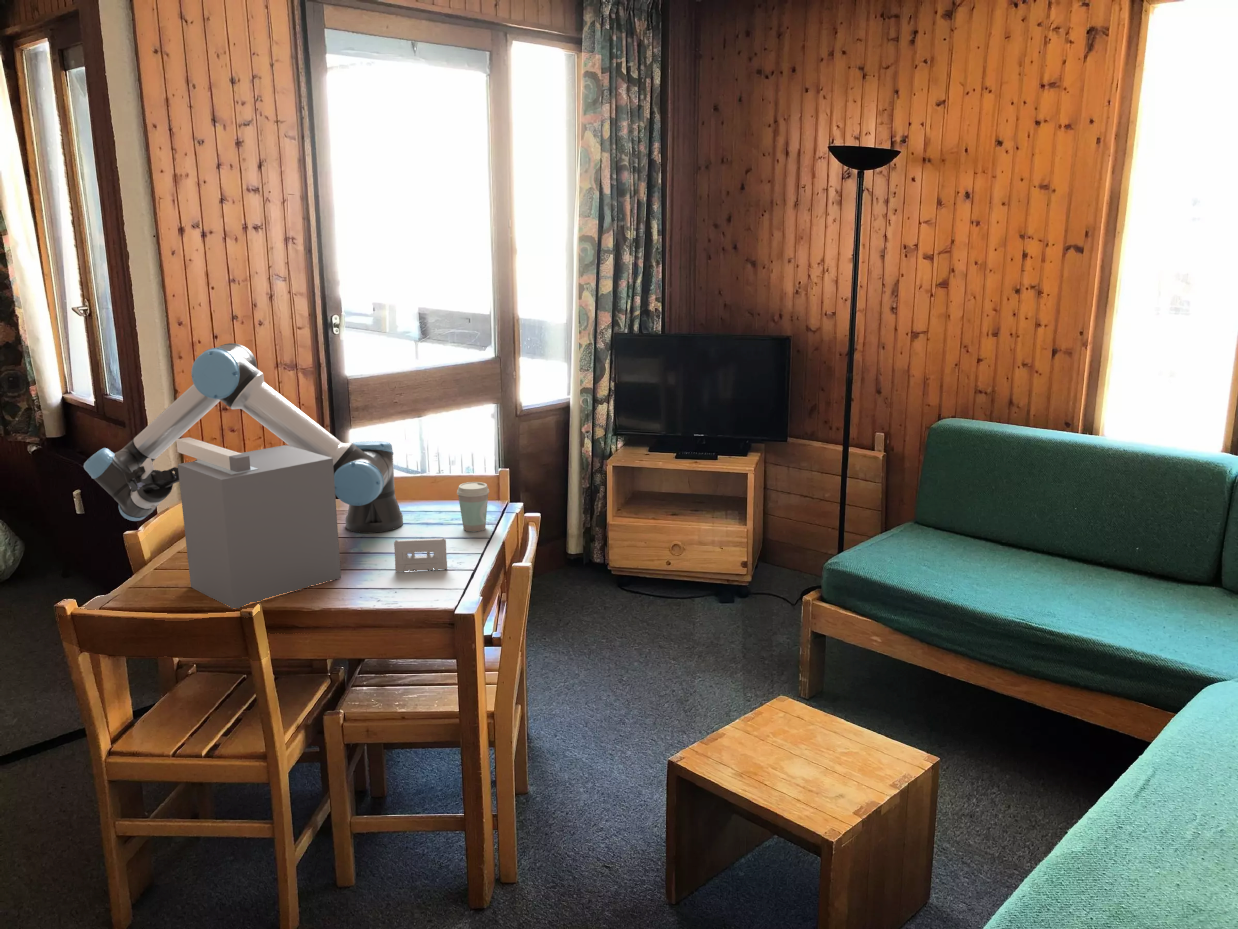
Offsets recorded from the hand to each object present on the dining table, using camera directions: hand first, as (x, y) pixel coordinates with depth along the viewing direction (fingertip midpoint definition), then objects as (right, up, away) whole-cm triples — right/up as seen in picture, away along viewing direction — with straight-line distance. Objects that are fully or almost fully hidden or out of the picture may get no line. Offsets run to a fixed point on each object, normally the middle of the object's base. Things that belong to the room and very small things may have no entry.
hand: (180, 458), depth 231 cm
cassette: (+55, -27, +5) cm, 61 cm away
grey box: (+21, -28, -3) cm, 36 cm away
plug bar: (+12, -1, -10) cm, 15 cm away
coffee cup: (+63, -19, +37) cm, 75 cm away
